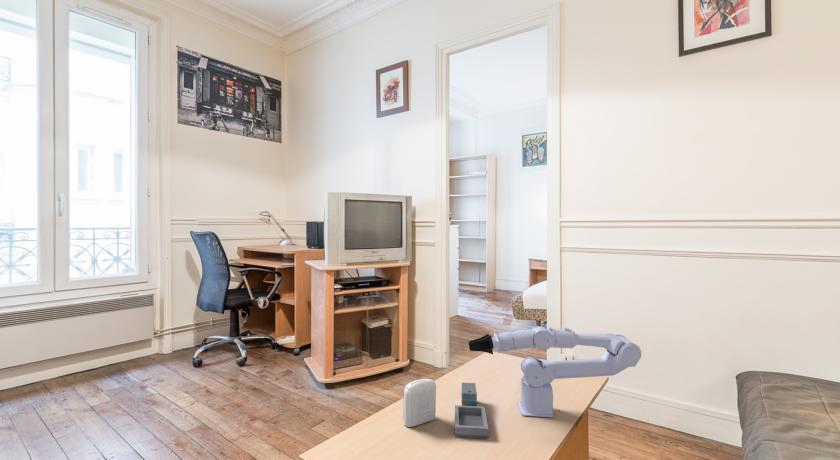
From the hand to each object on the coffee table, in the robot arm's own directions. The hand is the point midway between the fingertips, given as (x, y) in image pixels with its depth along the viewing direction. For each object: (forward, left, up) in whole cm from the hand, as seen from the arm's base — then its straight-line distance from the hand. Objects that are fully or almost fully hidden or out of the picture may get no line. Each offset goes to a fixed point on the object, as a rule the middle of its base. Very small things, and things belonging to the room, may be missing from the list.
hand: (469, 345), depth 123 cm
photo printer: (+15, +10, -20) cm, 27 cm away
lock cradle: (0, +11, -20) cm, 23 cm away
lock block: (0, -1, -20) cm, 20 cm away
